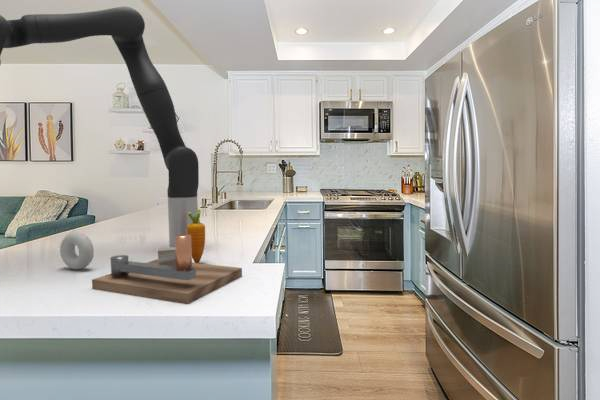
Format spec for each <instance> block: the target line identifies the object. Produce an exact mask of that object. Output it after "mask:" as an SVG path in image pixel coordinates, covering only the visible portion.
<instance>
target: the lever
mask: <svg viewBox="0 0 600 400" xmlns="http://www.w3.org/2000/svg"><path fill="white" fill-rule="evenodd" d="M175 258H176V266H168V265H159V264H150V263H147V262H139V261H132V260H131V261H130V260H129V255H127V254H118V255H113V256H111V257H110V272H111V273H110V274H111V276H114V277H119V276H125V275H128V274H129V273H135V274H143V275H151V276H158V277H166V278H173V279H181V280H191V279H193V278H195V277H196V269H194V268H192V263H193V260H192V259H193V258H192V250H191V235H188V234H183V235H176V236H175Z"/></svg>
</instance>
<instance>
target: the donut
mask: <svg viewBox="0 0 600 400" xmlns="http://www.w3.org/2000/svg"><path fill="white" fill-rule="evenodd" d="M76 247H77V249H78V255H77V253H76ZM94 251H95V250H94V245H93V242H92V240H91V239H90V238H89V236H88V235H86V234H85V233H83V232H79V231H72V232H70V233H67V235H65V236H64V237H63V239H62V240H61V243H60V247H59V253H60V257H61V259H62V261H63V262H64V264H65V265H66V266H67V267H68V268H70V269H73V270H75V271H76V270H83V269H85V268H86V267H88V266H89V265H90V264H91V263H92V260H93V258H94V255H95V254H94V253H95V252H94Z"/></svg>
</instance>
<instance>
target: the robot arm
mask: <svg viewBox="0 0 600 400" xmlns="http://www.w3.org/2000/svg"><path fill="white" fill-rule="evenodd" d="M145 27H146V26H145V20H144V17H143V16H142V15H141V13H140V12H139V11H137V10H136V9H135V8H133V7H129V6H118V7H117V6H116V7H113V8H112V7H111V8H106V9H101V10H95V11H85V12H77V13H76V12H75V13H52V14H51V13H42V14H41V13H40V14H39V13H38V14H37V13H36V14H24V15H23V16H21V18H19V19H10V20H9V19H6V18H5V17H4V16H2V15H1V14H0V56H1V55H2V52H3V50H4V49H12V48H18V47H24V46H28V45H34V44H58V43H66V42H72V41H76V40H81V39H84V38H89V37H95V36H96V37H97V36H109V37H110V36H111V38H112V40H113V42H114V44H115V45H116V47H117V49H118V50H119V53H120V55H121V57H122V59H123V60H124V62H125V65H126V67H127V70H128V73H129V78H130V80H131V83H132V85H133V88H134V90H135V93H136V96H137V99H138V101H139V103H140V105H141V107H142V110H143V112H144V114H145V117H146V119H147V121H148V123H149V125H150V128H151V129H152V131H153V132H154V135H155V136H156V139H157V141H158V145H159V147H160V148H159V149H160V151H161V154H162V157H163V161H164V164H165V167H166V169H167V170H168V187H167V209H168V211H167V212H168V238H169V240H168V242H169V244H168V245H169V247H175V236H176V235H183V234H187V226H188V225H189V224H191V223H193V221H192V219H191V217H190V216H189V215H188V213H189V212H191V213H192V215H193V216H195V217H196V214H197V212H198V209H199V204H198V201H199V200H198V189H199V184H200V183H199V175H200V174H199V173H200V172H199V167H200V166H199V159H198V155H197V154H196V152H195V151H194V150H193V148H190V147H187V146H186V144H185V142H184V140H183V137H182V135H181V133H180V130H179V127H178V121H177V115H176V110H175V106H174V102H173V99H172V97H171V94H170V92H169V89H168V86H167V83H166V82H165V80H164V79H163V77H162V75H161V74H160V73H159V71H158V69H157V68H156V67H155V65H154V64H153V62H152V60H151V58H150V56H149V53H148V51H147V48H146V45H145V42H144V37H143V35H144V32H145V29H146V28H145ZM1 63H2V62H1V59H0V65H2V64H1ZM193 218H194V217H193ZM198 223H201V219H200V218H199V221H198Z"/></svg>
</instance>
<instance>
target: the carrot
mask: <svg viewBox="0 0 600 400" xmlns="http://www.w3.org/2000/svg"><path fill="white" fill-rule="evenodd" d="M201 212H202V210H201V209H199V208H198V212H197V214H196V217H195V216H193V215H192V213H191V212H189V213H188V215H189V216H190V217H191V219H192V221H193V223H191V224H189V225H188V226H187V234H188V235H191V250H192V259H193V260H192V261H193V262H194V263H200V261H201V259H202V257H203V254H204V249H205V245H206V244H205V243H206V225H205V224H204V223H203V222H200V223H198V221H199V219H200V218H201ZM193 217H194V218H193Z"/></svg>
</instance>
